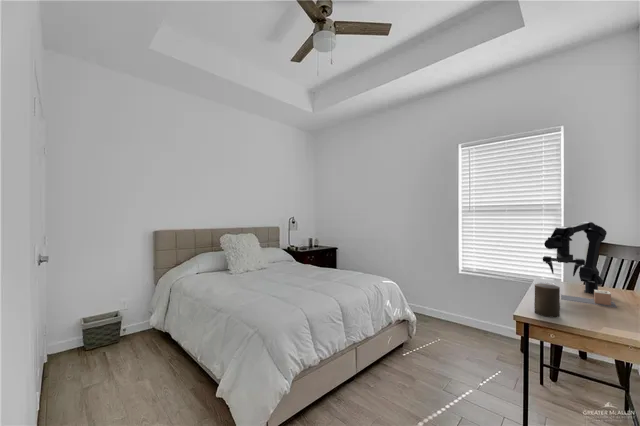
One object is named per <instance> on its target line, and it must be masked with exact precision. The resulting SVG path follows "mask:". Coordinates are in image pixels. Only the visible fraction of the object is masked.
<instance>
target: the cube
mask: <svg viewBox="0 0 640 426" xmlns="http://www.w3.org/2000/svg"><path fill="white" fill-rule="evenodd" d="M593 299H594V302H595V303H597V304H604V305H611V302H612V293H611V292H610V291H609V290H601V289H598V290H594V294H593Z"/></svg>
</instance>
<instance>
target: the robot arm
mask: <svg viewBox="0 0 640 426" xmlns="http://www.w3.org/2000/svg"><path fill="white" fill-rule="evenodd" d="M582 231H583V232H584V233H585V234H586V236H585V237H586V238H587V240H588V244H587V245H588V246H587V252H586V257H585V259H584V258H577V257H576V258H575V259H574V255H573V254H570V253H571V252H570V251H571V249H570V246H571V245H570V244H571V243H570V242H572V241H573V238H571V237H573V236H574V234H575V233H579V232H582ZM606 235H607V230H606V229H605V228H603V227H602V226H600V225H597V224H596V223H594V222H592V221H581V222H579V223H576V224H572V225H568V226H556V227H555V229H554V230H553V232H552V234H551V236H550V237H549V236H548V237H547V239H546V240H545V241H544V247H545V248H546V249H547V250H556V257H552V256H548V255H544V256H543V257H542V262H543V263H545V264H547V265H548V266H549V268H550V271H551V274H553V275H554V266H553V262H558V263H560V264H561V263H562V264H569V263H570V264H571V263H572V264H574V266H573V271H572V276H573V277H575V276H576V273H577V271H579V272H578V276H579V279H580V282H584V290H583V293H584V294H585V293H586V294H590V295H591V294H593V295H594V290H599V285H600V286H601V285H603V284H604V279H602V277H601V276H600V271H599V269H598V268H597V264H598V258H599V254H600V253H599V252H600V246H601V243H602V242H603V241H604V240H605V239H606V237H607V236H606ZM578 269H579V270H578Z"/></svg>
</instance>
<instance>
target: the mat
mask: <svg viewBox="0 0 640 426" xmlns="http://www.w3.org/2000/svg"><path fill="white" fill-rule="evenodd" d="M561 300H562V301H567V302H568V301H569V302H573V303H575V302H576V303H582V304H588V305H597V306H600V307H608V308H615V309H618V306H617V305H616V303H615V302H614V301H611V305H604V304H597V303H595V302H594V298H589V297H588V298H587V297H581V296H573V295H569V294H568V295H567V294H560V301H561Z"/></svg>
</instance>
